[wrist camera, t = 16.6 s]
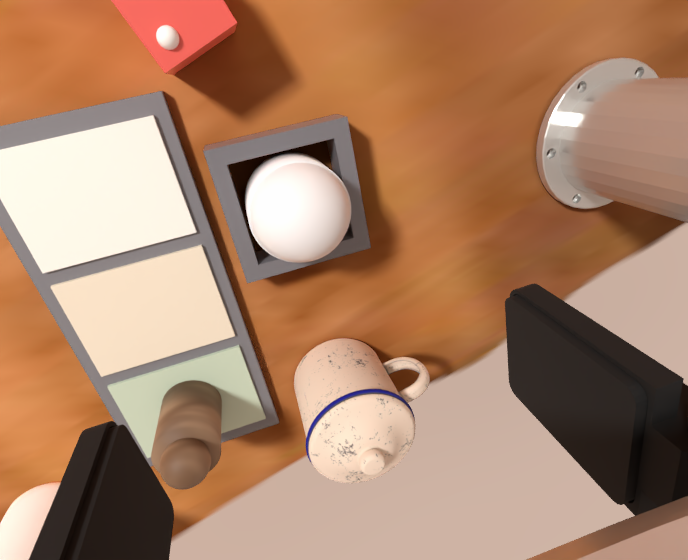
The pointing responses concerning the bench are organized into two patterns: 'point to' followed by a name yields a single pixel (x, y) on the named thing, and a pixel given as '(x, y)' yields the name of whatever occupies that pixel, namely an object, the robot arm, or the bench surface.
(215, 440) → the pawn
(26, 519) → the cup
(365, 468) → the teacup with lid
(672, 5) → the bench surface
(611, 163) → the robot arm
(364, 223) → the dome housing
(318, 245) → the dome
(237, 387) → the game board
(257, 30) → the bench surface
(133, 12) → the red die
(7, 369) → the bench surface
